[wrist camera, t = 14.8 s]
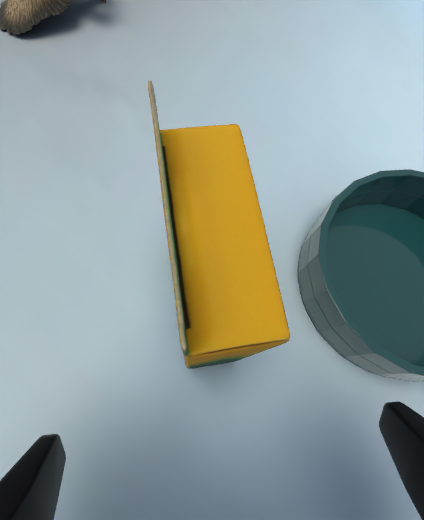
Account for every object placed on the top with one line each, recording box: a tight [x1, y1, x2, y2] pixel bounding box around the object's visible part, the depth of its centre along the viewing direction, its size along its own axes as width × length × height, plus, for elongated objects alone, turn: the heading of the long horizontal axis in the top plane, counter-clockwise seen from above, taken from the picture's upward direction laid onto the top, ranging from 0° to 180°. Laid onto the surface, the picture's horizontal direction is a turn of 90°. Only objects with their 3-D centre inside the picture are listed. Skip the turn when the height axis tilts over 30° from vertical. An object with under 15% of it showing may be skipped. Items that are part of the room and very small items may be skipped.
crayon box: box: [148, 81, 290, 368], centre depth 13 cm, size 7×3×12 cm, turn 9°
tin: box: [298, 170, 424, 381], centre depth 18 cm, size 11×11×4 cm
